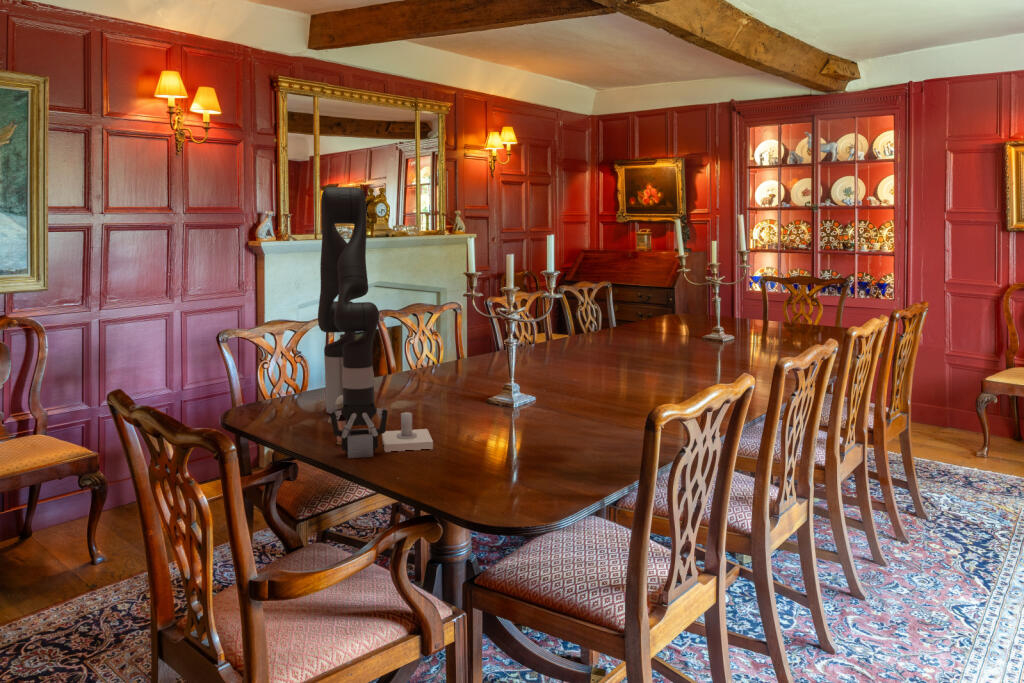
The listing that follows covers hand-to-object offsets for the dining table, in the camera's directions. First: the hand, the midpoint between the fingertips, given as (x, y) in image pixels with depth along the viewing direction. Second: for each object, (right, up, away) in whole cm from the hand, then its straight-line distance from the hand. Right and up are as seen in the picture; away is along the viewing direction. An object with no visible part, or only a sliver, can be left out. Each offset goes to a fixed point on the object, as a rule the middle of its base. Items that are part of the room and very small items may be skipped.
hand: (360, 450), depth 186 cm
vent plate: (+10, 0, +9) cm, 13 cm away
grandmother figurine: (-6, 0, +9) cm, 11 cm away
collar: (0, -1, 0) cm, 1 cm away
